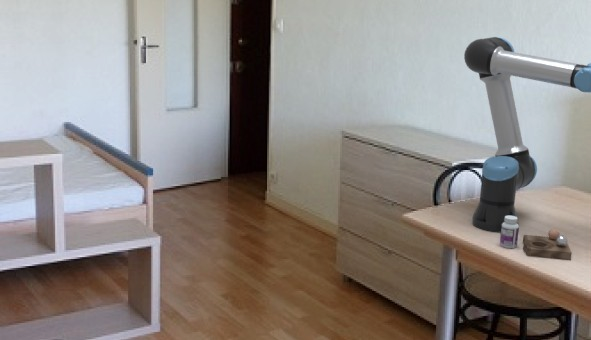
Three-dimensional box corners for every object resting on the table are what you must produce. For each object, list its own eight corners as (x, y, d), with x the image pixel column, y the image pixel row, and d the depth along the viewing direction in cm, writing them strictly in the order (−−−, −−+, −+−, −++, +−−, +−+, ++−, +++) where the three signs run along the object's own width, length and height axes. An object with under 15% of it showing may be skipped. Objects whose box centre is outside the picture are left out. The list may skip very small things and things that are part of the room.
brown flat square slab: (525, 255, 234) (526, 248, 233) (521, 241, 246) (521, 234, 246) (570, 260, 232) (571, 252, 231) (564, 245, 244) (565, 238, 244)
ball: (555, 247, 235) (557, 237, 234) (554, 243, 238) (555, 233, 237) (567, 248, 234) (568, 238, 234) (565, 244, 238) (566, 234, 237)
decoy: (548, 240, 241) (549, 230, 240) (546, 237, 244) (548, 227, 243) (559, 241, 240) (560, 231, 240) (557, 238, 244) (559, 228, 243)
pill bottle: (508, 241, 246) (511, 213, 244) (520, 247, 242) (523, 218, 239) (496, 244, 244) (499, 215, 241) (507, 249, 239) (510, 220, 237)
